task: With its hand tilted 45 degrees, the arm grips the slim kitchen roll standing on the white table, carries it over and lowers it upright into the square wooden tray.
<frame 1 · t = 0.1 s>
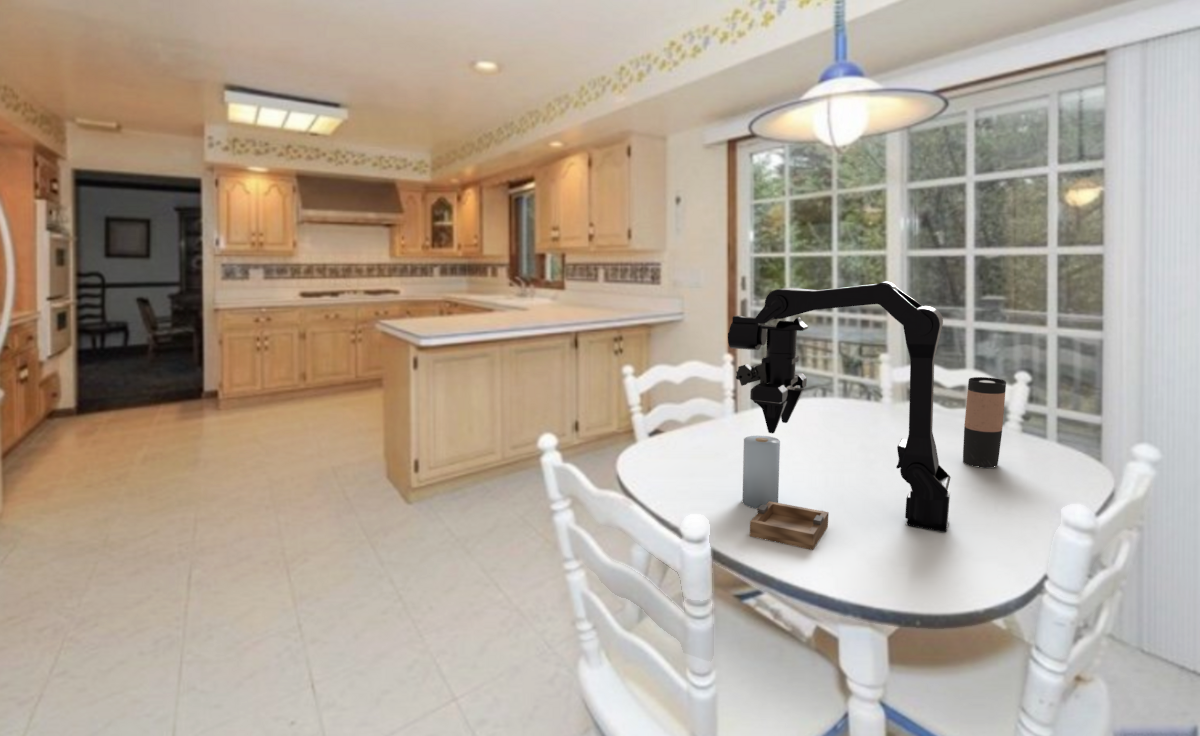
hand: (778, 427, 132), 15 cm above the table, tool pointing down, fingers open, 9 cm apart
square wooden tray: (789, 531, 117), on the table
travel mug: (979, 464, 153), on the table
kitchen roll: (760, 502, 131), on the table
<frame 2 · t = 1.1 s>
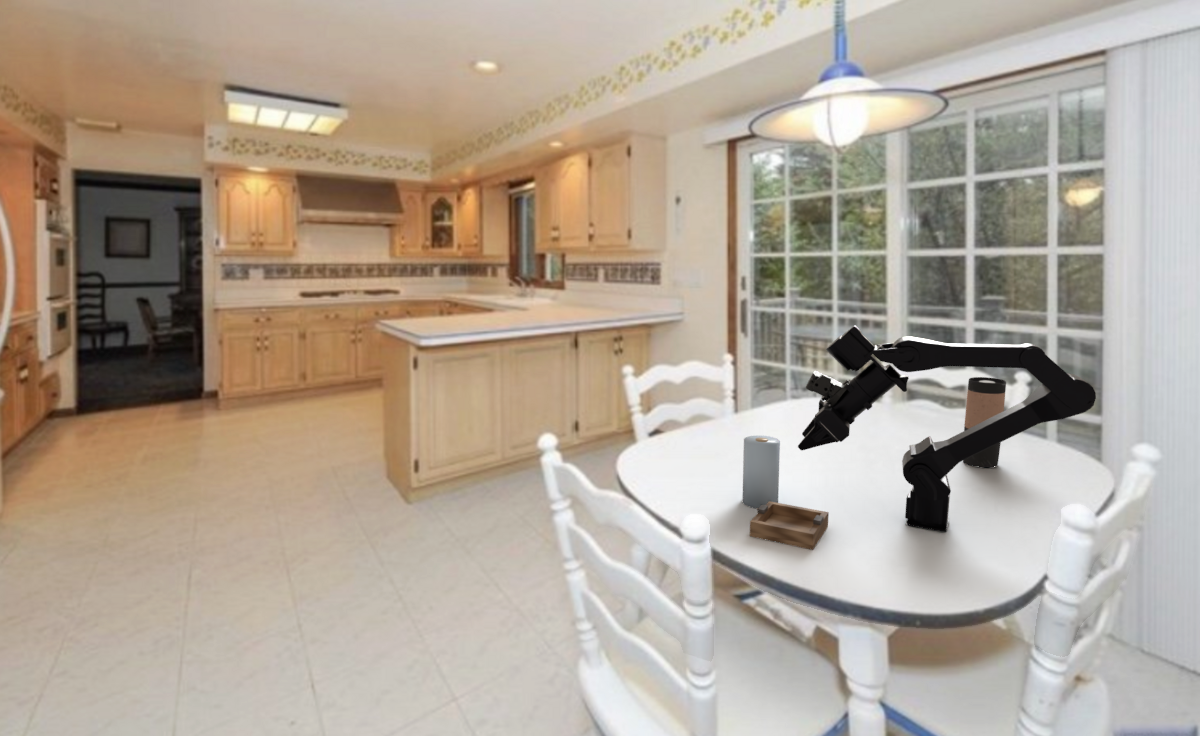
hand: (801, 441, 126), 13 cm above the table, tool tilted 45°, fingers open, 9 cm apart
nothing on the table moved.
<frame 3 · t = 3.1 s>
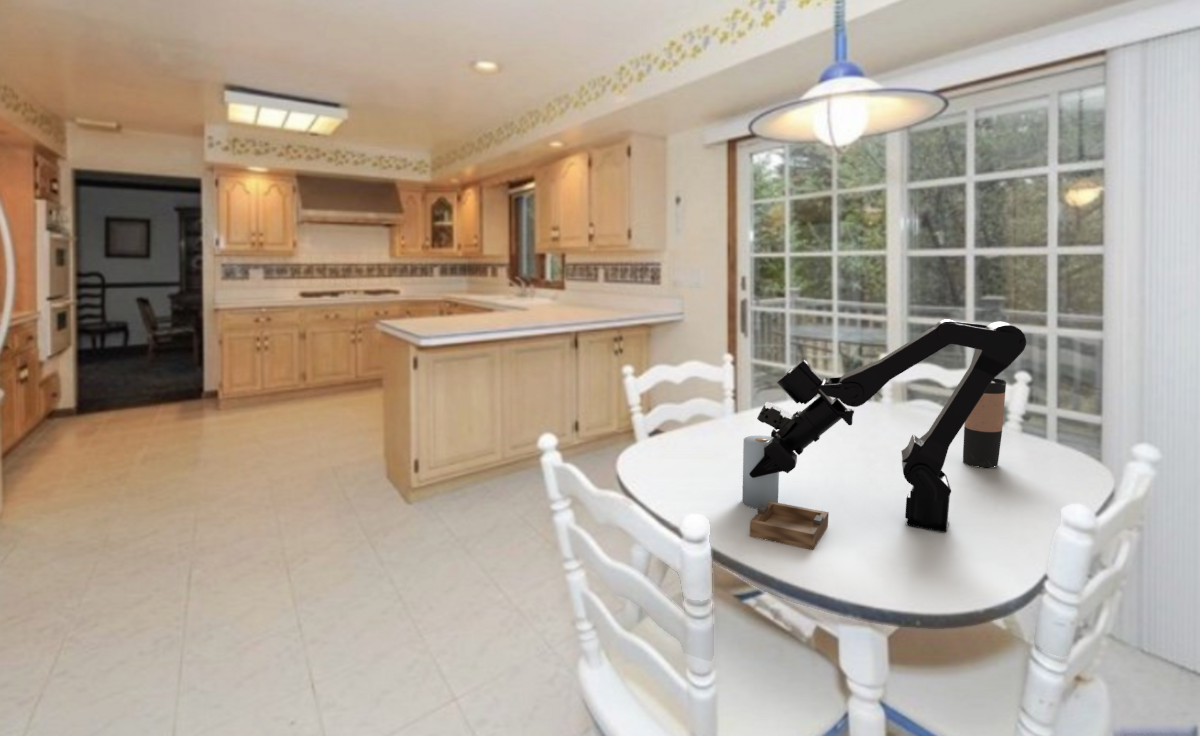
hand: (753, 470, 130), 7 cm above the table, tool tilted 45°, fingers closed on kitchen roll, 7 cm apart
kitchen roll: (760, 502, 131), on the table, touching gripper
everything else where it was.
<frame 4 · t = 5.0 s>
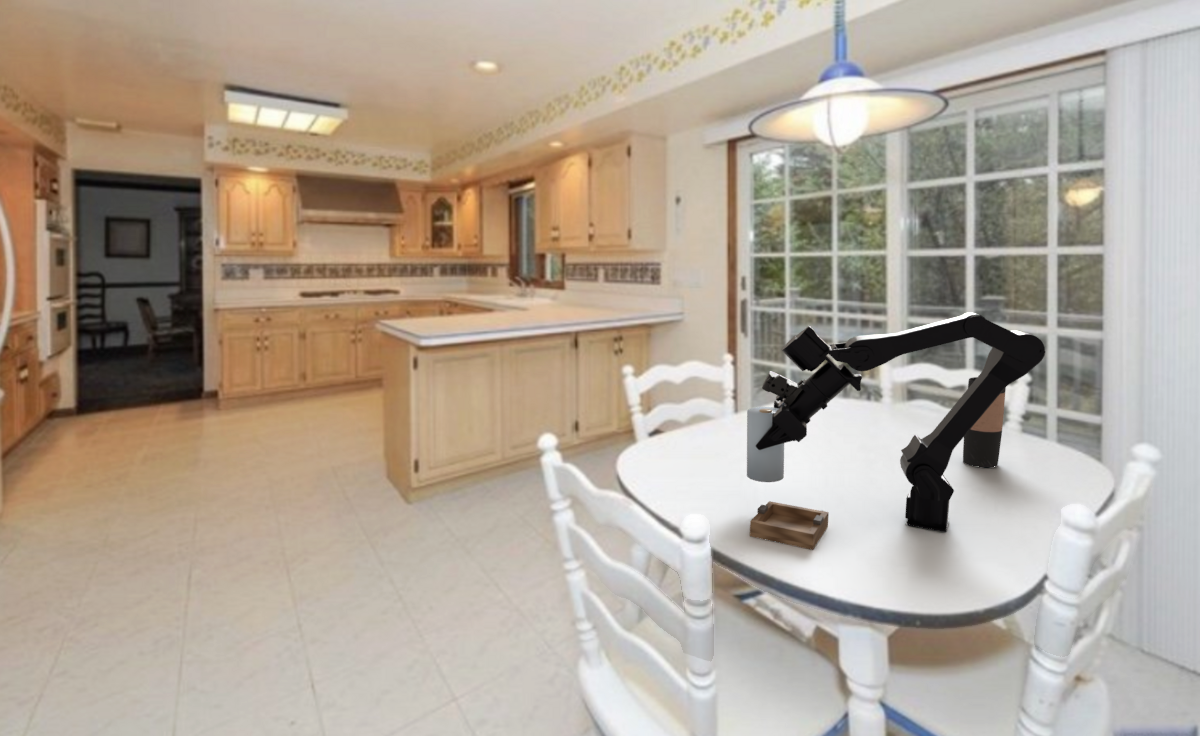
hand: (758, 442, 126), 13 cm above the table, tool tilted 45°, fingers closed on kitchen roll, 7 cm apart
kitchen roll: (765, 475, 126), point 7 cm above the table, touching gripper
everything else where it was.
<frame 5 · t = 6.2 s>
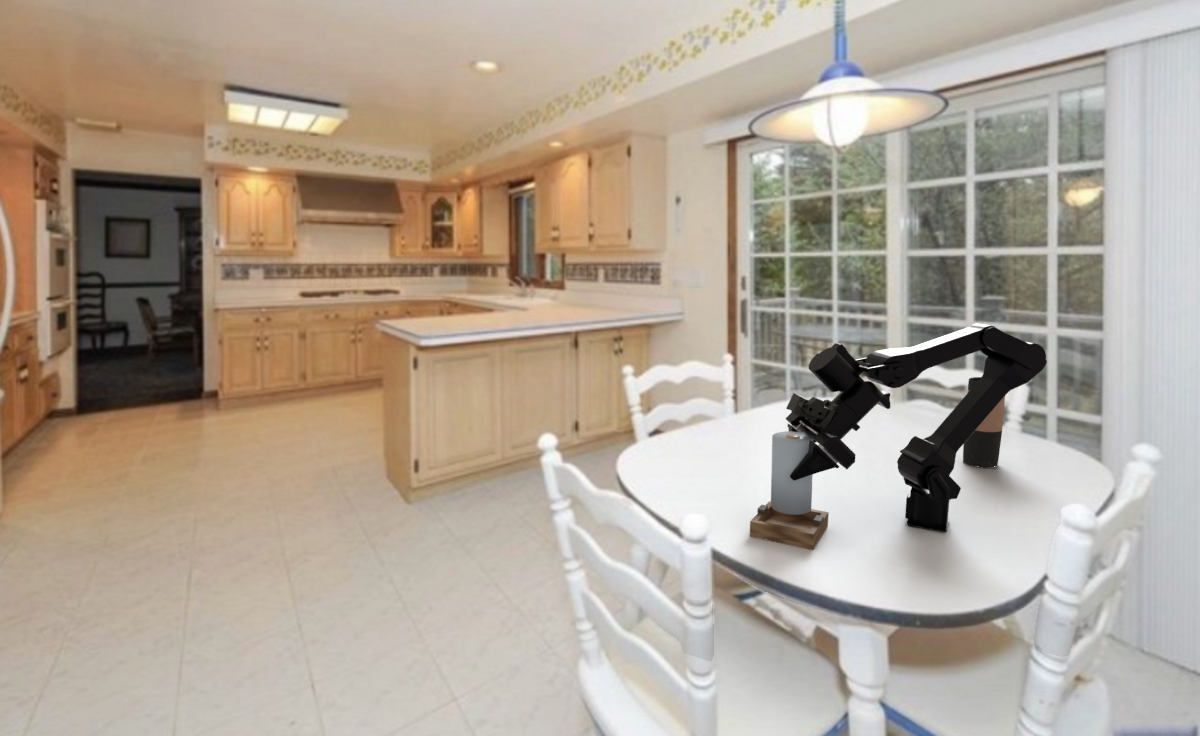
hand: (784, 471, 115), 11 cm above the table, tool tilted 45°, fingers closed on kitchen roll, 7 cm apart
kitchen roll: (790, 506, 116), point 5 cm above the table, touching gripper
everything else where it was.
when the fingers open (10 cm above the table, at t = 7.0 s): kitchen roll drops 2 cm, resting on square wooden tray.
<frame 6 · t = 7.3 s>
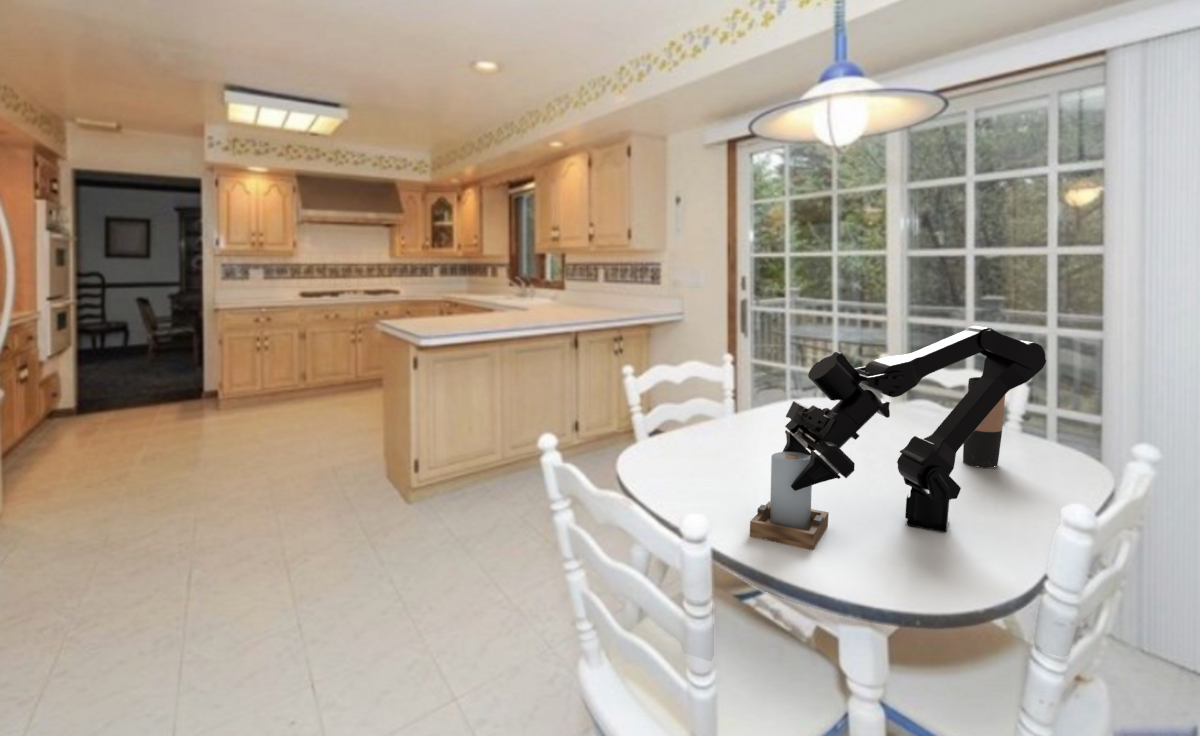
hand: (783, 479, 115), 10 cm above the table, tool tilted 45°, fingers open, 9 cm apart
kitchen roll: (789, 526, 117), point 1 cm above the table, touching square wooden tray
everything else where it was.
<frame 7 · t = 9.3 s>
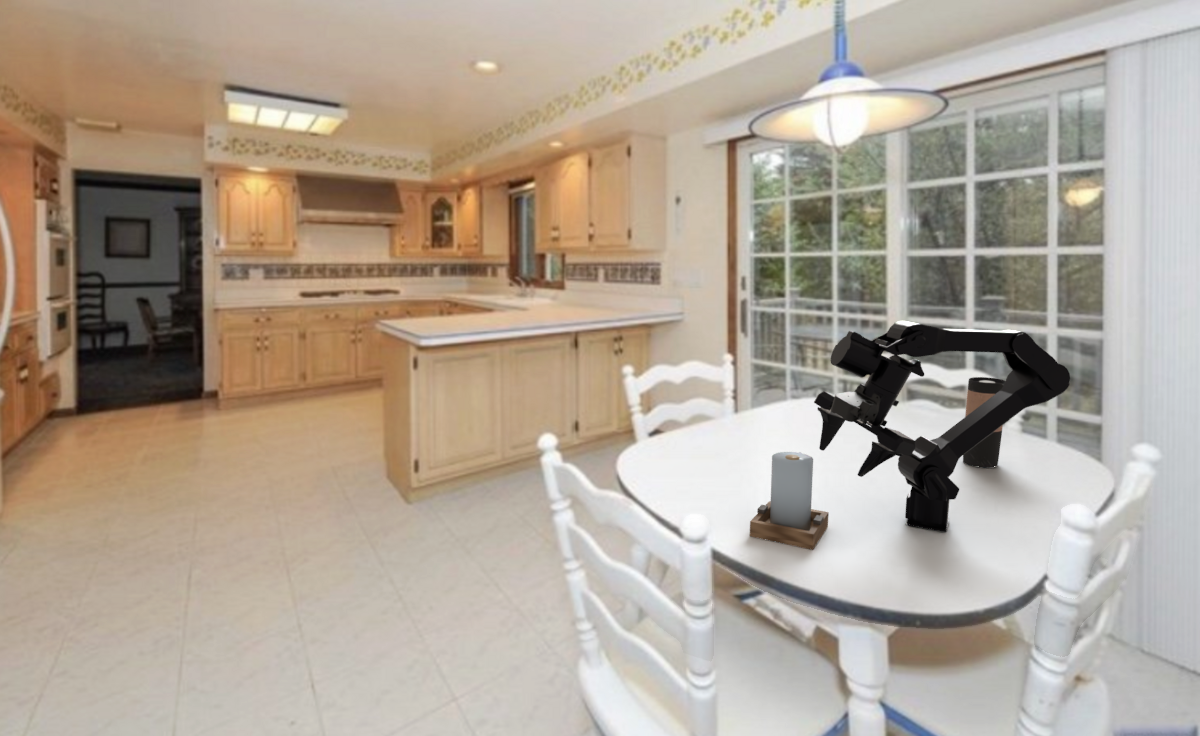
hand: (839, 462, 119), 12 cm above the table, tool tilted 25°, fingers open, 9 cm apart
nothing on the table moved.
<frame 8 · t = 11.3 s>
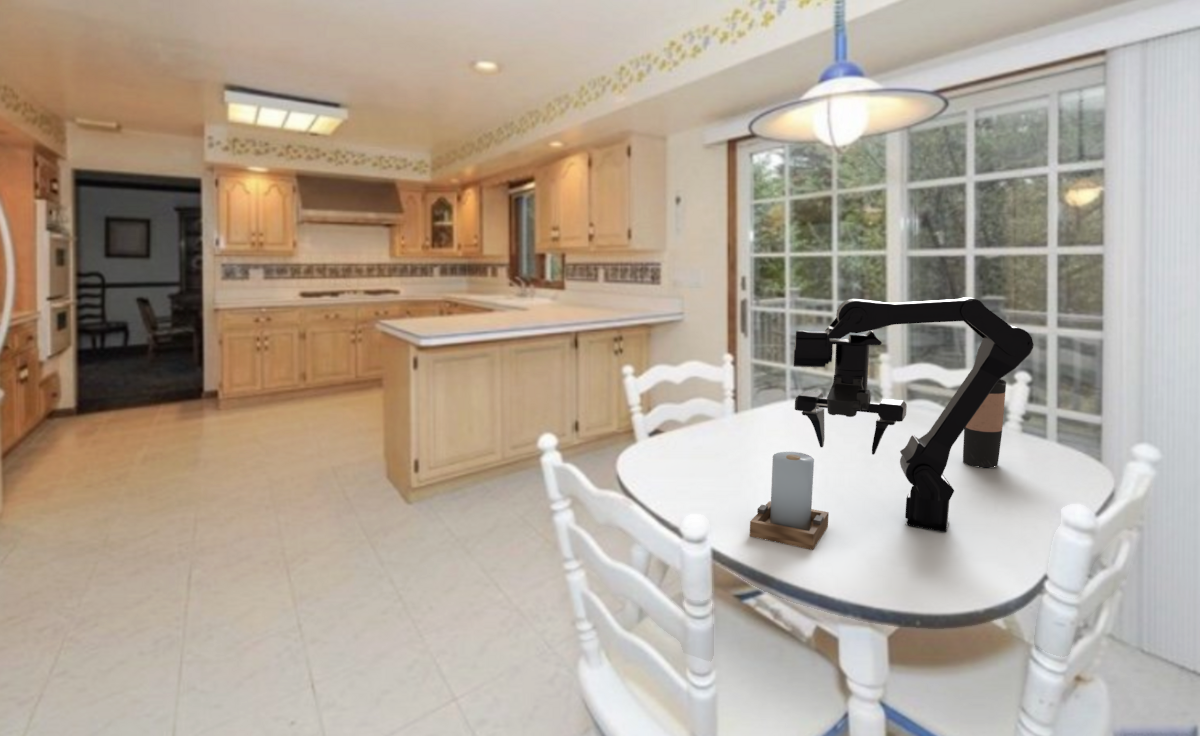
hand: (847, 450, 121), 13 cm above the table, tool pointing down, fingers open, 9 cm apart
nothing on the table moved.
at the end: kitchen roll 0.1 cm off-centre on the square wooden tray, point 0.9 cm above the square wooden tray's base; kitchen roll tilted 1°; the gripper is holding nothing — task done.
